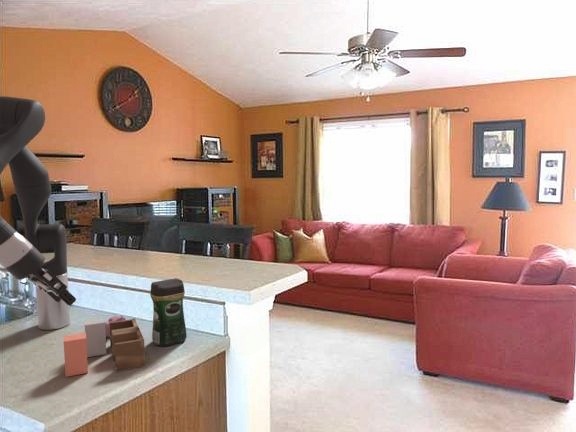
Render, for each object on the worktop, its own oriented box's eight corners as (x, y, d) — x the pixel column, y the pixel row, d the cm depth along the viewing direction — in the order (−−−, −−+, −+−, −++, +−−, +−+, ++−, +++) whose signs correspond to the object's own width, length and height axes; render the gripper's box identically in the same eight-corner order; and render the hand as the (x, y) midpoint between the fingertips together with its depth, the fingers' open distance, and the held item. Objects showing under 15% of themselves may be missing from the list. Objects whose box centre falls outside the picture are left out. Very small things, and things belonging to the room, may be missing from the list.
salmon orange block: (65, 370, 111) (63, 336, 110) (87, 366, 113) (85, 332, 112) (65, 376, 108) (63, 341, 107) (87, 372, 110) (86, 338, 109)
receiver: (110, 345, 127) (109, 322, 126) (135, 341, 130) (134, 318, 129) (116, 371, 111) (115, 344, 110) (145, 365, 114) (144, 339, 113)
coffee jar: (179, 333, 137) (177, 274, 135) (190, 341, 130) (188, 280, 128) (148, 340, 131) (146, 279, 129) (158, 349, 124) (156, 285, 122)
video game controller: (103, 346, 131) (112, 326, 129) (90, 338, 131) (99, 318, 130) (122, 333, 140) (130, 315, 139) (110, 326, 141) (118, 308, 140)
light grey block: (86, 351, 122) (84, 320, 121) (105, 348, 125) (103, 317, 124) (86, 357, 119) (84, 325, 118) (106, 353, 121) (104, 322, 120)
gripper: (40, 244, 99) (89, 292, 107) (22, 243, 109) (68, 287, 117) (11, 268, 95) (64, 316, 103) (-5, 265, 105) (45, 309, 113)
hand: (66, 300), depth 110 cm, fingers open, 8 cm apart
